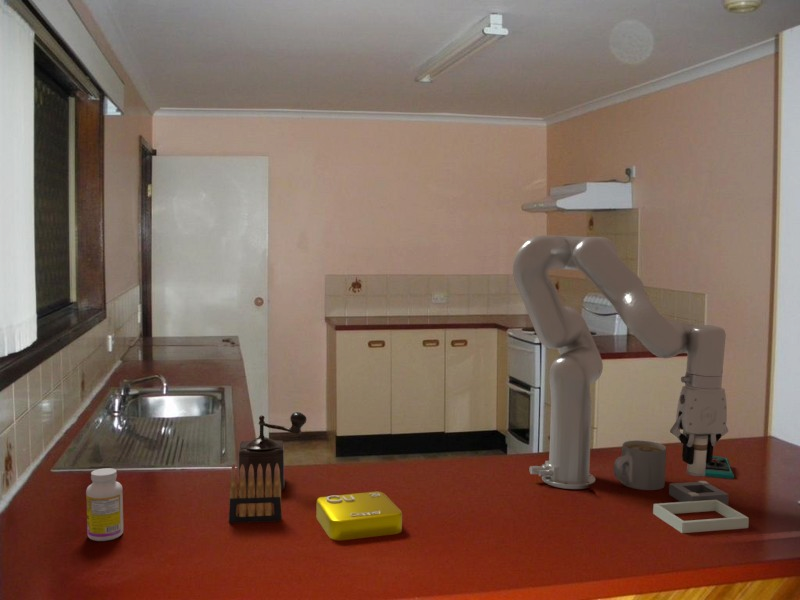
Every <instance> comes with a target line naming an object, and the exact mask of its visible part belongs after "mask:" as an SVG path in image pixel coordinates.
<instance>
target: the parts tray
mask: <svg viewBox="0 0 800 600" xmlns="http://www.w3.org/2000/svg"><path fill="white" fill-rule="evenodd" d="M714 511H715V512H716V513H718V514H720V515H721V516H723V517H722V518H721V517H720V518H719V517H718V518H708V519H705V518H704V519H695V520H693V519H691V520H683V519H681V518H680V517H679V516H677V514H688V513H701V512H702V513H703V512H714ZM652 514H653V515H655V516H656V518H658V519H660V520H662V522H665V523H666V524H667V525H669V526H671V527H672V528H674V529H675V530H676V531H677V532H679V533H681V534H687V533H688V534H689V533H700V532H701V533H702V532H713V531H725V530H726V531H727V530H740V529H742V530H743V529H748V528H749V523H750V520H749V519H750V517H748V516H747V515H745V514H743V513H741V512H739V511H738V510H736V509H734V508H732V507H731V506H729V505H728V506H727V505H725V504H724V503H722V502H720V501H718V500H703V501H689V502H680V501H675V502H664V503H663V502H660V503H653V508H652ZM675 514H676V515H675Z"/></svg>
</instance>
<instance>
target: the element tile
mask: <svg viewBox="0 0 800 600" xmlns="http://www.w3.org/2000/svg"><path fill="white" fill-rule="evenodd" d="M315 502H316V506H315V507H316V515H315V516H316V520H317V521H318V523H319V525H320V526H321V527H322V529H323V530H324V532H325V533H326V535H327V537H329V539H331V540H333V541H347V540H348V541H350V540H356V539H365V538H372V537H381V536H382V537H383V536H391V535H397V534H401V533H402V532H403V512H402V510H401V509H400V508H399V507H398V506H397V505H396V504H395V503H394V502H393V501H392V500H391V499H390V498H389V497H388V496H387V495H386V494H385V493H384V492H381V491H369V492H359V493H357V492H356V493H350V494H349V493H347V494H340V495H339V494H338V495H336V494H335V495H332V494H331V495H329V496H328V495H327V496H320V497H318V498H317V499H316V501H315Z"/></svg>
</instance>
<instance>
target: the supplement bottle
mask: <svg viewBox="0 0 800 600" xmlns="http://www.w3.org/2000/svg"><path fill="white" fill-rule="evenodd" d="M117 477H118V473H117V470H116V468H111V467H108V468H107V467H106V468H104V467H103V468H99V469H95V470H93V471H91V472H90V479H91V481H92V483H91V484H89V485H88V486H87V488H86V490H85V491H86V492H85V497H86V531H87V532H86V533H87V537H88V539H90V540H91V541H94V542H95V541H96V542H106V541H107V542H108V541H113V540H115V539H118V538H119V537H120V536H122V534H123V533H124V501H123V500H124V499H123V497H124V496H123V485H122V484H121V483H120V482H119V481H117Z"/></svg>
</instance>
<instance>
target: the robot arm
mask: <svg viewBox="0 0 800 600" xmlns="http://www.w3.org/2000/svg"><path fill="white" fill-rule="evenodd" d="M555 270H565V271H580V273H582V274H583V275H584V276H585V277H586V278H587V279H588V280H589V282H590V283H592V285H593V286H594V287H595V288H596V290H598V291H599V292H600V293H601V294H602V295H603V296H604V297H605V298H606V299H607V301H608V302H609V303H610V304H611V305H612V306H613V308H614V310H615V312H616V314H618V316H619V317H620V319H621V320H622V321H623V322H622V323H624V325H625V326H626V327H627V328H628V330H629V331H630V332H631V333H632V335H633V336H634V337H635V338H636V339H637V341H639V342H640V343H641V345H642V346H644V348H646V349H647V350H648V351H649V352H650V353H651V354H652V355H654V356H656V357H657V358H661V359H672V358H674V357H676V356H677V355H679V354H687V357H686V359H687V360H686V371H685V375H684V376H681V378H680V381H681V383H684V385H683V386H682V388H681V390H680V393H679V399H678V402H677V408H676V416H675V422H674V424H673V425H672V426H671V428H670V429H669V432H670V433H671V434H672V435H674V436H675V437H677V439H678V440H679V441H680V443H681V444H682V452H681V453H682V454H681V457H682V462H684V463H686V464H687V465H688V464H690V465H691V464H693V459H694V447H692V444H693V440H694V436H695V434H708V447H707V456H706V463H708V464H711V462H712V457H713V456H714V447H715V446H716V445H717V442H718V441H719V440H721V438H722V437H724V436H725V435H726V434H727V433H729V428H728V426H727V418H728V417H727V416H728V413H727V412H728V411H727V409H728V407H727V396H726V390H725V388H723V387H722V386H723V385H722V383H723V372H724V371H723V370H724V363H725V362H724V361H725V359H724V358H725V348H726V336H727V335H726V331H725V329H724V328H722V327H720V326H718V325H717V326H715V325H710V324H693V323H687V322H685V321H681V320H667V319H666V318H665V317H664V316H663V314H662V313H660V312H659V311H658V309H657V308H656V307H655V306H654V305H653V303H652V302H651V301H650V298H648V296H647V293H646V289H645V285H644V283H643V281H642V279H641V278H640V277H639V276H638V274H636V273H635V272H634V271H633V270H632V269H631V268H630V266H629V265H627V264H626V262H624V260H623V259H621V257H619V250H618V247H617V246H616V244H615V243H614V242H613V241H612V240H611V239H609V238H607V237H605V236H580V235H579V236H577V235H559V234H558V235H554V234H553V235H552V234H551V235H546V234H545V235H543V234H542V235H537V236H533V237H531V238H529V239H528V240H526V241H525V242H524V243H523V244H522V245H521V246H520V247H519V248H518V250H517V252H516V254H515V256H514V259H513V264H512V277H513V279H514V283H515V287H516V288H517V291H518V293H519V295H520V297H521V300H522V302H523V304H524V308H525V310H526V312H527V314H528V317H529V319H530V322H531V325H532V326H533V329H534V331H535V334H536V336H537V339H538V341H539V342H540V344H542V345H543V346H544V347H545V348H547V349H550V350H557V352H558V354H559V355H558V356H557V357H556V358H555V359H554V360H553V362H552V364H551V365H550V369H549V372H548V376H549V377H548V381H549V383H548V384H549V389H550V422H549V423H550V427H549V452H548V453H549V456H548V460H544V461H545V462H544V464H542V465H539V466H538V465H530V466H529V469H528V470H529V473H530V475H538V477H541V480H542V481H543V482H544V483H545V484H546V485H549V486H551V487H554V488H560V489H566V490H584V489H588V488H589V489H590V486H589V485H592V484H595V482H596V477H595V476H594V475H593V474H591V473H590V463H591V462H590V460H591V437H592V436H591V432H592V431H591V430H592V429H591V428H592V397H591V385H592V384H594V383H595V382H597V381H598V380H599V378H600V377H601V375H602V373H603V370H604V369H603V368H604V367H603V366H604V365H603V364H604V363H603V360H602V357H601V353H600V351H599V349H598V347H597V344H596V343H595V340H594V338H593V336H592V333H591V331H590V329H589V326H588V324H587V322H586V320H585V319H584V317H583V315H581V313H580V312H579V311H578V310H576V309H575V308H573V307H569V306H564V304H563V301H562V299H561V297H560V295H559V292H558V290H557V288H556V286H555V284H554V283H553V282H552V279H551V278H550V275H549V271H555ZM681 430H682V432H681Z"/></svg>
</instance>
